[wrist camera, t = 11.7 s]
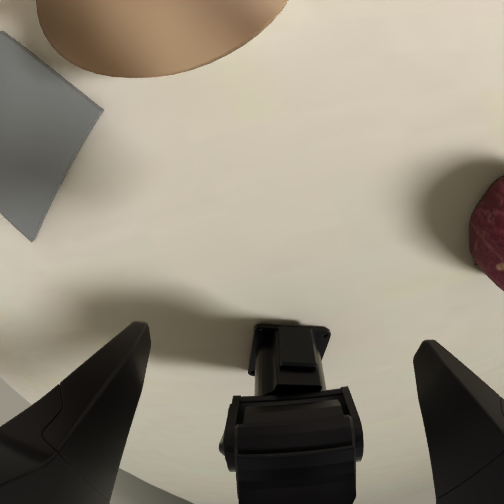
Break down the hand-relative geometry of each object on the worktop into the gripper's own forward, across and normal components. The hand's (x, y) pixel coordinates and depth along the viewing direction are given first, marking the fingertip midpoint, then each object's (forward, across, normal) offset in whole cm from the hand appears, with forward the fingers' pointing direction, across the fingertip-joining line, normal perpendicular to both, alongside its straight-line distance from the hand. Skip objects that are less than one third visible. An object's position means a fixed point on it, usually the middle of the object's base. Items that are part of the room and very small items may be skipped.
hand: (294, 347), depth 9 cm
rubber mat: (+13, +21, -4) cm, 25 cm away
